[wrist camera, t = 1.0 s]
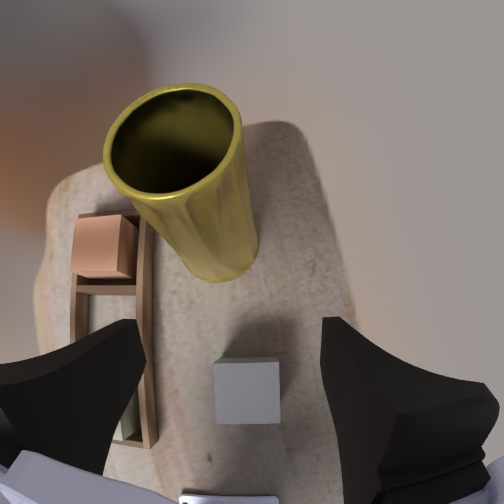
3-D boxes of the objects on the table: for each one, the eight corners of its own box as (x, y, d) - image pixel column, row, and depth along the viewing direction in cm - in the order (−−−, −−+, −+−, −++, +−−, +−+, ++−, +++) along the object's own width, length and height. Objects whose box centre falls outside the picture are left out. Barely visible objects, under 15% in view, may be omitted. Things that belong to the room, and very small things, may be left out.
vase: (256, 204, 24) (251, 67, 11) (260, 280, 23) (262, 206, 9) (180, 209, 25) (108, 89, 11) (180, 285, 23) (79, 222, 9)
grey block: (277, 407, 21) (280, 422, 17) (223, 408, 21) (215, 423, 17) (275, 356, 22) (278, 361, 18) (221, 357, 22) (212, 363, 18)
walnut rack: (158, 440, 20) (140, 458, 16) (89, 429, 20) (65, 441, 16) (155, 217, 24) (137, 197, 21) (89, 222, 25) (66, 205, 21)
